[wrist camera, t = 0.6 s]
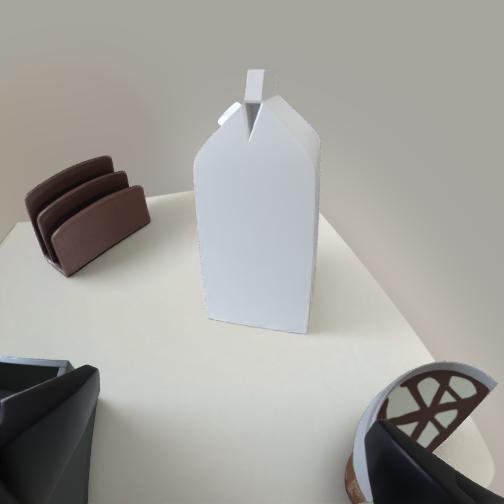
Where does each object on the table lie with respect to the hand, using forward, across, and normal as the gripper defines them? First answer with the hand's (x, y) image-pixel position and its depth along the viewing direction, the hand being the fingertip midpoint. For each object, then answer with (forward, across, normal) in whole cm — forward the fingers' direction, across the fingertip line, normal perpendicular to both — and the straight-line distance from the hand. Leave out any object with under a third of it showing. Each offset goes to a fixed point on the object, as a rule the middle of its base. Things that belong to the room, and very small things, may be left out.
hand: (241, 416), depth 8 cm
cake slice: (+8, -15, +12) cm, 21 cm away
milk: (+29, -4, +7) cm, 30 cm away
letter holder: (+43, +26, +10) cm, 51 cm away
